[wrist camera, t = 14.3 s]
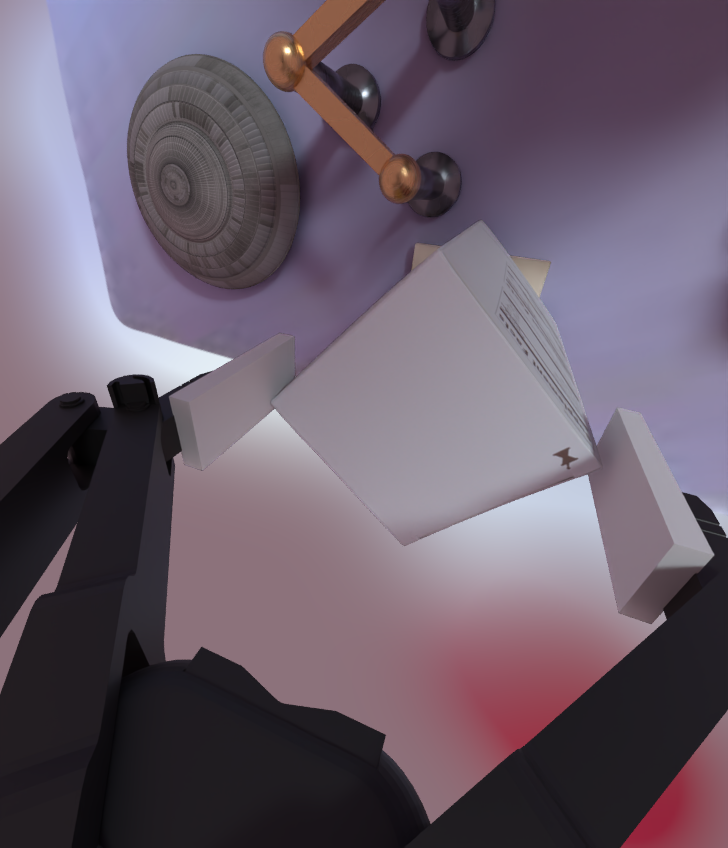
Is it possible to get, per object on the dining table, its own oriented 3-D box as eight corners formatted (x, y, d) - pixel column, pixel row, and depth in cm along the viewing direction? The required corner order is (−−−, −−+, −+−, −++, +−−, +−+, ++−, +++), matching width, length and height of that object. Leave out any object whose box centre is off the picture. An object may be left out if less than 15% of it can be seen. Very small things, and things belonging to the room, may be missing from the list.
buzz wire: (332, -28, 22) (224, -162, 14) (503, -33, 20) (493, -197, 12) (325, 204, 28) (247, 204, 20) (454, 219, 26) (426, 227, 18)
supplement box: (482, 214, 24) (447, 231, 11) (562, 326, 26) (622, 468, 12) (376, 309, 30) (260, 404, 16) (448, 398, 31) (401, 554, 17)
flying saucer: (137, 228, 35) (81, 231, 30) (159, 13, 26) (84, -26, 22) (272, 318, 35) (236, 335, 30) (340, 133, 26) (303, 118, 21)
